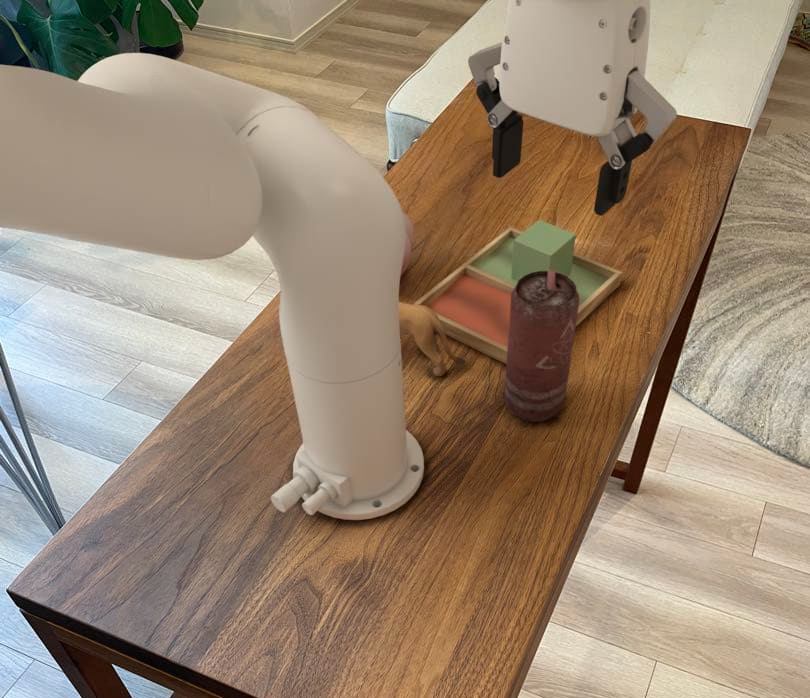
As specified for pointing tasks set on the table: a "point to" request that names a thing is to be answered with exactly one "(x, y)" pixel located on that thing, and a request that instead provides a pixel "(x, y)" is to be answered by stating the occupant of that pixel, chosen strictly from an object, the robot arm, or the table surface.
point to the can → (540, 344)
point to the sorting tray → (503, 295)
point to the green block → (542, 250)
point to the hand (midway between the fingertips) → (555, 188)
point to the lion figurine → (425, 333)
